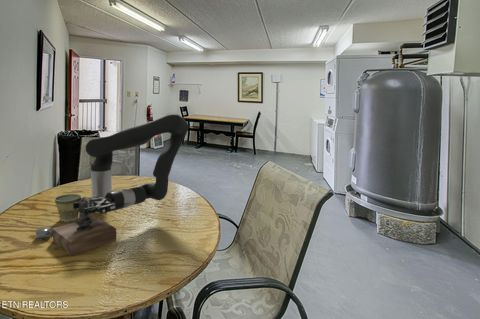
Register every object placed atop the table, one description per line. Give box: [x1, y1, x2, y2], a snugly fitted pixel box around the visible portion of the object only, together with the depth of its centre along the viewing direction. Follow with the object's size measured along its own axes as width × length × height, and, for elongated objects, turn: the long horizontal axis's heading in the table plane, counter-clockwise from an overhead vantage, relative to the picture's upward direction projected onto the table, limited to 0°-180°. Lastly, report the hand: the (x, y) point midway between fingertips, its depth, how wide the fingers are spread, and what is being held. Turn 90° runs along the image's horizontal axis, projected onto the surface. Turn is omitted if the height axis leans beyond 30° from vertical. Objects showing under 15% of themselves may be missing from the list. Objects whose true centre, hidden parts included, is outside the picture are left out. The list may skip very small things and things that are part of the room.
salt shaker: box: [74, 197, 94, 231], centre depth 110 cm, size 6×6×12 cm
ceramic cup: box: [54, 193, 88, 223], centre depth 131 cm, size 13×10×10 cm
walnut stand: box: [51, 216, 118, 257], centre depth 112 cm, size 16×16×5 cm
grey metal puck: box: [35, 226, 53, 240], centre depth 114 cm, size 5×5×3 cm
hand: (78, 208), depth 109 cm, fingers open, 8 cm apart
